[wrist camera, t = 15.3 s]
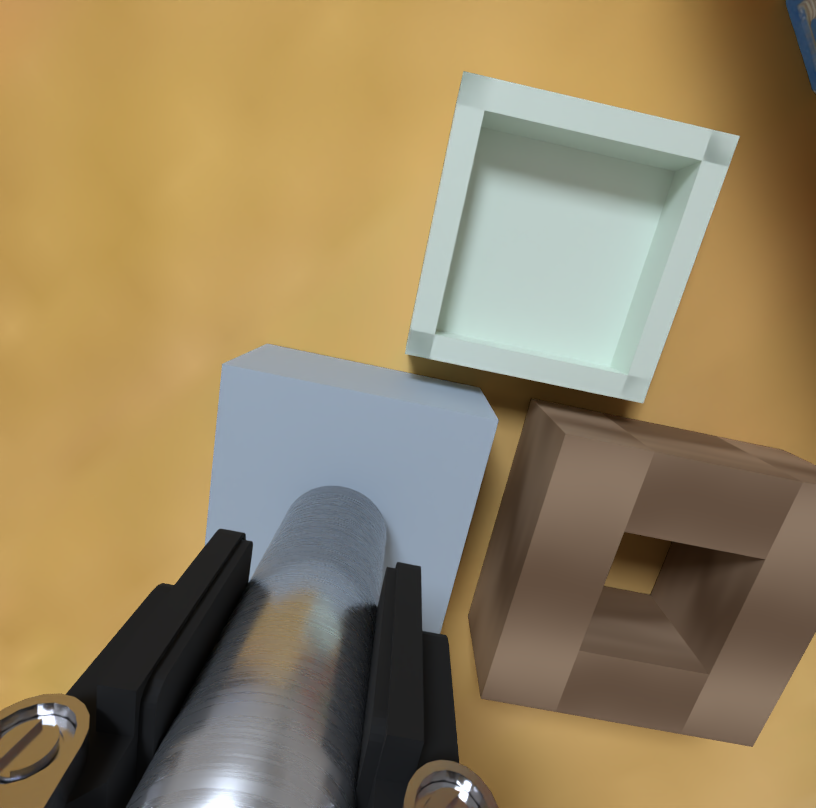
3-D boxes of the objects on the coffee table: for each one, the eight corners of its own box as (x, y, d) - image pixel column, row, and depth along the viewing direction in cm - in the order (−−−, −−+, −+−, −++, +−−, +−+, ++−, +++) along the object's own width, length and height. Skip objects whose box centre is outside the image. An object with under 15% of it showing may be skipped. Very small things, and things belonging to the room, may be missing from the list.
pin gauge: (290, 476, 13) (-107, 1111, 3) (395, 496, 13) (334, 1170, 3) (277, 566, 13) (-71, 1296, 4) (376, 585, 14) (280, 1339, 4)
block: (267, 343, 17) (220, 364, 13) (479, 387, 17) (499, 421, 13) (244, 532, 19) (198, 601, 15) (432, 568, 19) (437, 644, 15)
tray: (457, 99, 14) (463, 71, 12) (697, 154, 15) (739, 136, 13) (406, 345, 17) (405, 354, 15) (617, 388, 17) (642, 403, 15)
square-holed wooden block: (531, 398, 17) (565, 433, 13) (783, 450, 17) (888, 499, 14) (467, 615, 20) (481, 698, 16) (687, 656, 20) (752, 746, 16)
